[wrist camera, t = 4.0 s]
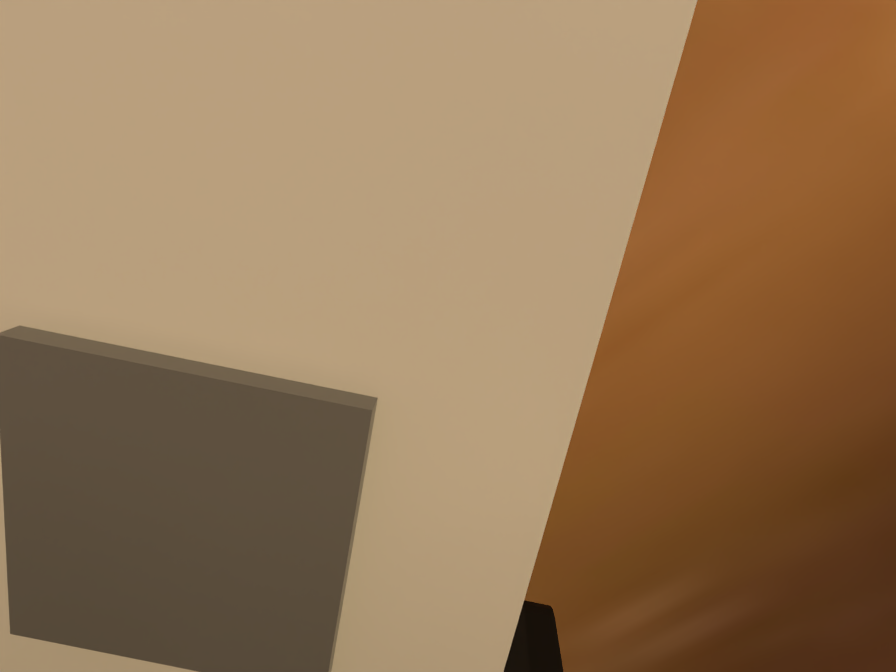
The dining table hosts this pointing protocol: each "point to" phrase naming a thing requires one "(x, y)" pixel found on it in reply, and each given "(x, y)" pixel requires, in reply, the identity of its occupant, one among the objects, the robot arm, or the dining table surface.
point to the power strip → (302, 317)
